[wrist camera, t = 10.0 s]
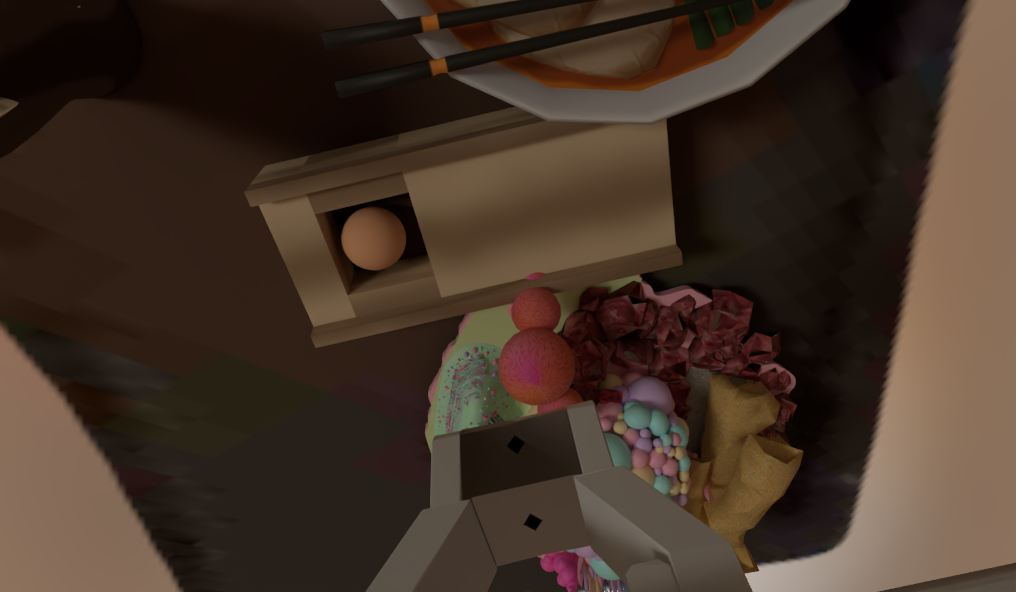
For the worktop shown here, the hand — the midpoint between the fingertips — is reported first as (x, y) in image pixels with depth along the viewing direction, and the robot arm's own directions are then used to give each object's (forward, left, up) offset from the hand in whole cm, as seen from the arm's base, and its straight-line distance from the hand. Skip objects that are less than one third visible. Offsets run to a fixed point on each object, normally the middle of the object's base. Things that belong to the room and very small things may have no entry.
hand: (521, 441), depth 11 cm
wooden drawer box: (+5, -1, -25) cm, 25 cm away
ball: (+5, -7, -23) cm, 25 cm away
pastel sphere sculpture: (+22, +4, -23) cm, 32 cm away
